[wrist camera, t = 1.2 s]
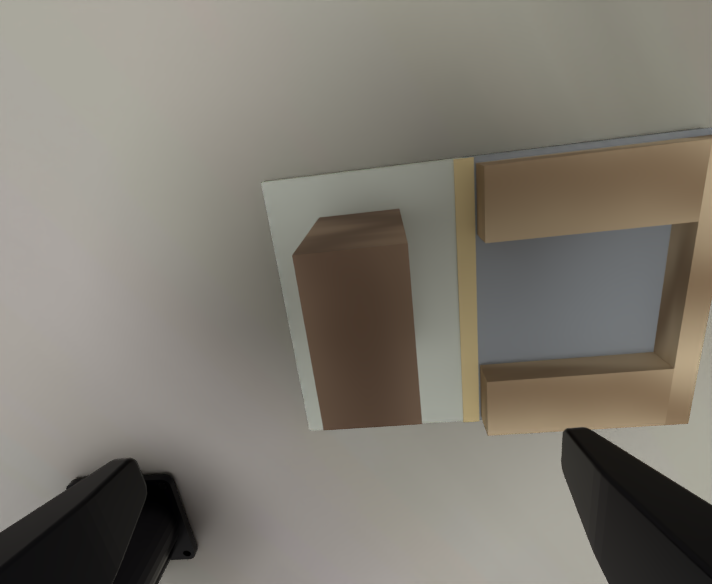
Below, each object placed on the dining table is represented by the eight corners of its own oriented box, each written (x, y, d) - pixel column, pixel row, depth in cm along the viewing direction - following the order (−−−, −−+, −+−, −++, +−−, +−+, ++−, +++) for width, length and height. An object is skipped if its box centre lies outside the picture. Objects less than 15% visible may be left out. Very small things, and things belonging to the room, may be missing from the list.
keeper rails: (667, 403, 21) (687, 423, 19) (480, 415, 22) (487, 435, 20) (711, 134, 16) (742, 135, 15) (475, 163, 17) (484, 166, 16)
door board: (658, 400, 21) (667, 409, 21) (311, 423, 23) (309, 431, 22) (701, 127, 17) (714, 127, 16) (264, 181, 18) (260, 182, 18)
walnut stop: (399, 208, 18) (407, 243, 12) (410, 343, 20) (422, 424, 15) (319, 217, 18) (291, 255, 13) (339, 348, 21) (323, 430, 15)
